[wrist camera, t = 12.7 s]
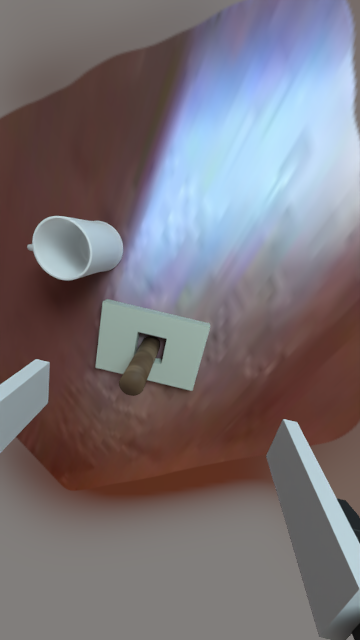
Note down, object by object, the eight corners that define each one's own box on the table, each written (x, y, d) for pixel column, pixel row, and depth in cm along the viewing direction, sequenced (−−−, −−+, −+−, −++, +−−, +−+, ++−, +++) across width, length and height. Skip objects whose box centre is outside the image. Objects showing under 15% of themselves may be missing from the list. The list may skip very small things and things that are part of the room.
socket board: (99, 362, 50) (95, 367, 48) (106, 299, 45) (102, 301, 43) (192, 385, 49) (192, 390, 47) (209, 323, 45) (210, 327, 43)
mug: (59, 265, 44) (10, 274, 32) (57, 215, 41) (2, 206, 30) (122, 274, 43) (93, 286, 32) (124, 224, 40) (93, 217, 29)
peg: (141, 350, 48) (117, 392, 35) (144, 334, 47) (120, 371, 33) (158, 354, 48) (141, 397, 35) (161, 338, 47) (145, 377, 33)
